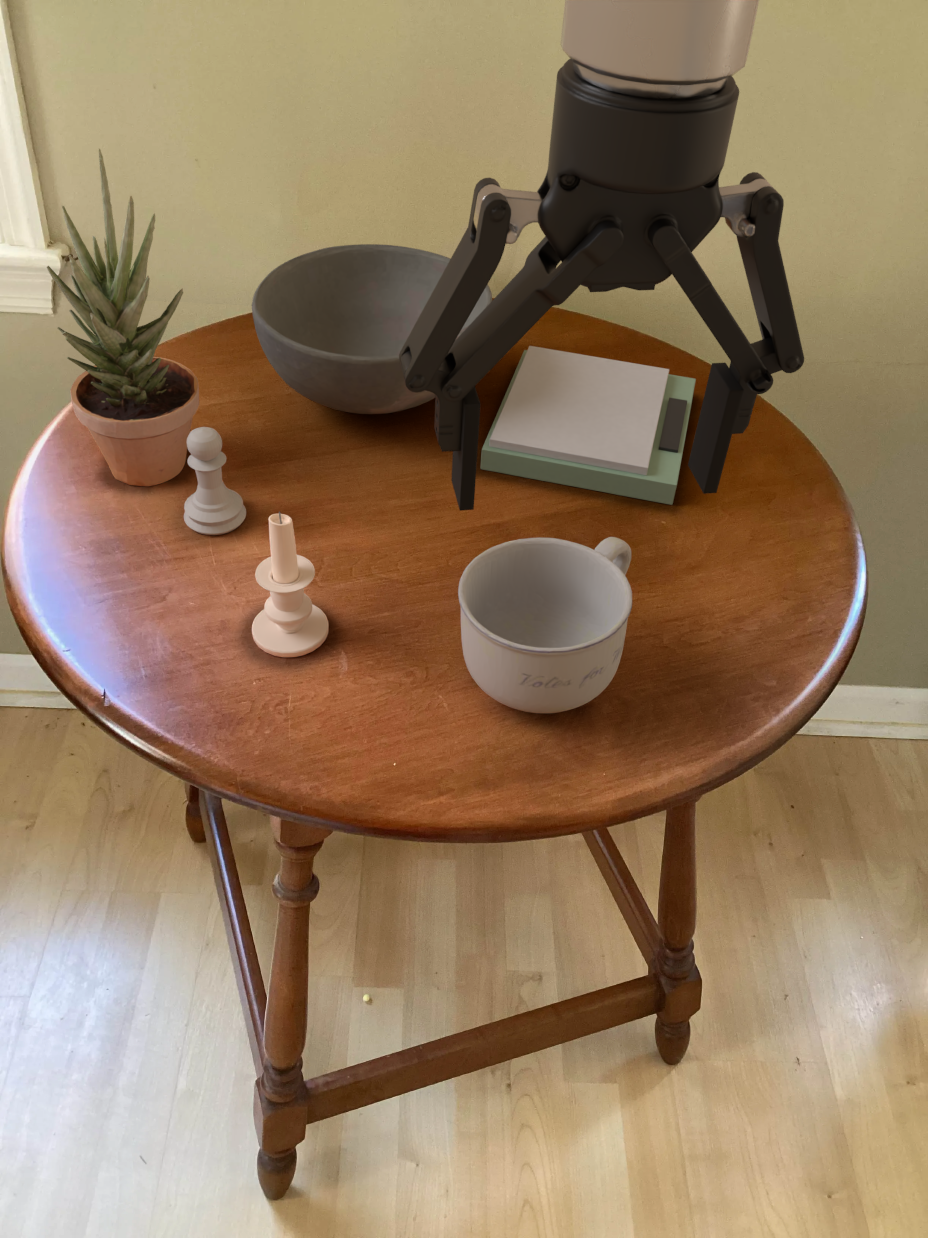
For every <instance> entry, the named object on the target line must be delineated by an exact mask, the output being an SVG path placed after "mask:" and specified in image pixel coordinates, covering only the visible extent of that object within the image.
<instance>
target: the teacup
mask: <svg viewBox="0 0 928 1238" xmlns="http://www.w3.org/2000/svg"><path fill="white" fill-rule="evenodd" d="M631 561H632V548H631V547H630V545H629V544H628V543H627V542H626V541H625V540H623V539H621V538H619V537H616V536H608V537H606V538H604V539H603V540H601V541H600V542H599V543H598V544H597V545H596V547H595V548H594V549H593V548H591V547H589V546H587V545H584V544H581V543H579V542H573V541H570V540H566V539H561V538H555V537H528V538H527V537H526V538H518V539H513V540H510V541H505V542H502V543H500V544H497V545H494V546H491V547H489V548H488V549H486V550H484V551H482V552H481V553H480V554H478V555H477V556H475V557H474V558H473V559H472V560H470V562H469V564H467V566H465V568H464V570H463V571H462V575H461V576H460V578H459V582H458V587H457V596H458V597H457V598H458V602H459V607H460V636H461V637H460V638H461V648H462V655H463V659H464V662H465V666H466V669H467V671H468V672H469V674H470V676H471V678H472V680H473V681H474V682H475V683H476V685H477V686H478V687H479V688H480V689H481V690H482V692H484V693H485V694H486V695H487V696H489V697H490V698H492V699H493V700H494V701H496V702H498V703H500V704H502V705H504V706H507V707H509V708H511V709H514V710H518V711H522V712H525V713H532V714H557V713H561V712H567V711H570V710H573V709H576V708H577V709H578V708H579V707H582V706H583V705H585V704H587V703H589V702H591V701H592V700H594V699H595V698H597V697H598V696H599V695H601V694H602V693H603V691H605V690H606V688H607V687H608V686H609V685H610V684H611V682H612V681H613V678H614V677H615V675H616V674H617V671H618V669H619V665H620V663H621V660H622V659H621V658H622V655H623V652H624V651H623V650H624V647H625V646H624V645H625V641H626V640H625V639H626V635H627V628H628V619H629V617H630V614H631V612H632V608H633V591H632V587H631V584H630V582H629V580H628V578H627V576H626V575H627V573H628V570H629V568H630V564H631Z"/></svg>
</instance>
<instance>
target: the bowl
mask: <svg viewBox="0 0 928 1238" xmlns="http://www.w3.org/2000/svg"><path fill="white" fill-rule="evenodd" d="M450 259H451V257H447V256H445V255H442V254H439V253H435V252H432V251H428V250H423V249H420V248H413V247H408V246H401V245H393V244H381V243H379V244H376V243H373V244H372V243H371V244H370V243H366V244H365V243H364V244H363V243H361V244H344V245H336V246H335V245H334V246H329V247H323V248H320V249H316V250H313V251H310V252H306V253H303V254H301V255H298V256H295V257H293V258H291V259H289V260H287V261H285V262H283V263H282V264H280V265H278V266H277V267H275V268H273V270H271V271H269V273H268V274H267V275H266V276H265V277H264V278H263V280H261V282H260V283H259V284H258V286H257V288H256V290H254V294H253V297H252V301H251V313H252V319H253V324H254V329H255V332H256V335H257V336H256V337H257V339H258V341H259V344H260V346H261V349H262V351H263V353H264V356H265V357H266V359H267V360H268V363H269V364H270V366H271V367H272V368H273V370H274V371H275V372H276V374H277V375H278V376H279V378H280V379H282V381H283V382H284V383H285V384H286V385H287V386H289V387H290V388H291V389H292V390H293V391H295V392H296V393H297V394H300V395H301V396H302V397H304V398H306V399H308V400H310V401H312V402H315V403H316V404H319V405H322V406H324V407H326V408H330V409H332V410H336V411H339V412H345V413H350V414H360V415H382V414H391V413H396V412H401V411H406V410H409V409H412V408H416V407H419V406H421V405H423V404H427V403H428V402H430V401H432V400H434V399H435V394H434V393H432V392H429V391H426V390H424V391H422V392H418V393H415V392H412V391H410V390H408V388H407V387H406V384H405V380H404V376H403V372H402V368H401V364H400V360H399V354H400V351H401V349H402V347H403V346H404V344H405V342H406V340H407V338H408V336H409V335H410V333H411V331H412V329H413V327H414V325H415V324H416V322H417V320H418V318H419V316H420V314H421V312H422V311H423V309H424V307H425V305H426V303H427V301H428V300H429V298H430V296H431V294H432V292H433V290H434V289H435V287H436V285H437V283H438V281H439V279H440V278H441V276H442V274H443V272H444V270H445V268H446V267H447V265H448V263H449V261H450ZM492 300H493V294H492V290H491V288H490V286H489V283H488V284H487V286H486V288H485V289H484V291H483V293H482V295H481V296H480V298H479V300H478V302H477V303H476V305H475V307H474V309H473V310H472V312H471V314H470V315H469V317H468V319H467V321H466V322H465V324H464V326H463V328H462V329H461V331H460V333H459V335H458V336H457V338H458V337H459V336H460V335H461V334H462V333H463V332H464V331H465V329H466V328H467V327H468V326H469V325H470V324H471V323H472V322H473V321H474V320H475V319H476V318H477V317H478V315H479V314H480V313H481V312H482V311H483V310H484V309H485V308H486V307H487V306H488V305H489V304H490V303H491V302H492ZM457 338H456V339H457Z"/></svg>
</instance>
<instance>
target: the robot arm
mask: <svg viewBox="0 0 928 1238" xmlns="http://www.w3.org/2000/svg"><path fill="white" fill-rule="evenodd" d="M759 4H760V0H564V6H563V7H564V8H563V17H562V26H561V35H560V44H559V45H560V47H561V50H562V51H563V52H564V53H565V55H566V56H567V57H568V58H569V59H568V60H567V61H565V62H564V64H563V65H562V66H561V67H560V68H559V69H558V71H557V73H556V81H555V90H554V91H555V92H554V99H553V100H554V101H553V113H552V121H551V130H550V132H551V133H550V141H549V151H548V161H547V163H548V164H547V171H546V173H545V176H544V179H543V181H542V183H541V184H540V186H539V187H538V188H537V190H536V191H531V190H519V189H511V188H502V187H501V185H500V183H499V182H498V180H496V179H495V178H492V177H484V178H482V179H480V180H479V181H478V182H477V183H476V184H475V186H474V189H473V195H472V199H471V205H470V206H471V208H470V213H469V219H468V226H467V228H466V230H465V232H464V234H463V236H462V237H461V239H460V241H459V243H458V244H457V246H456V249H455V250H454V252H453V254H452V256H451V257H450V261H449V263H448V265H447V267H446V268H445V270H444V272H443V274H442V276H441V278H440V279H439V281H438V283H437V285H436V287H435V289H434V290H433V292H432V294H431V296H430V298H429V300H428V301H427V303H426V305H425V307H424V309H423V311H422V312H421V314H420V316H419V318H418V320H417V322H416V324H415V325H414V327H413V329H412V331H411V333H410V335H409V336H408V338H407V340H406V342H405V344H404V346H403V347H402V349H401V351H400V354H399V360H400V364H401V368H402V372H403V376H404V380H405V384H406V387H407V388H408V390H410V391H412V392H415V393H418V392H422V391H424V390H426V391H429V392H432V393H434V394H435V398H434V399H435V400H434V401H435V402H434V424H433V425H434V427H433V429H434V432H435V436H436V441H437V444H438V446H439V448H440V450H441V452H442V453H446V452H452V458H451V459H452V461H451V462H452V463H451V483H452V488H453V492H454V495H455V498H456V502H457V505H458V509H459V511H460V512H461V511H473V510H474V509H475V498H476V497H475V493H476V482H477V481H476V480H477V465H478V451H479V434H480V421H481V408H482V407H481V405H482V403H481V400H480V397H479V394H478V392H477V388H476V386H477V385H478V384H479V383H480V382H481V381H482V380H483V378H484V377H485V376H487V375H488V373H489V372H491V370H492V369H493V368H494V367H495V366H496V365H497V364H498V363H499V362H500V361H501V360H502V359H503V358H504V357H505V356H506V355H507V354H508V353H509V352H510V351H511V349H513V348H514V347H515V346H516V345H517V343H519V341H520V340H521V339H522V338H523V337H524V336H525V335H526V334H527V333H528V332H529V331H531V329H532V328H533V327H534V326H535V325H536V324H537V323H538V322H539V320H540V319H542V317H544V315H545V314H546V313H548V311H549V310H551V308H552V307H554V306H560V305H562V304H563V303H565V302H566V301H567V299H568V298H570V297H571V296H572V294H574V293H575V291H576V290H578V288H579V287H580V286H582V287H584V288H587V289H588V291H589V293H607V292H610V291H614V290H616V289H620V288H625V289H630V290H635V291H655V288H656V286H657V285H660V284H661V283H663V282H664V281H666V280H667V279H668V278H670V277H671V276H673V278H674V279H675V281H676V282H677V284H678V286H679V287H680V288H681V290H682V292H683V293H684V294H685V296H686V297H687V299H688V300H689V302H690V303H691V304H692V306H693V307H694V309H695V310H696V312H697V313H698V315H699V317H700V318H701V319H702V321H703V322H704V324H705V325H706V327H707V328H708V329H709V331H710V332H711V334H712V336H713V337H714V338H715V340H716V342H717V343H718V345H719V346H720V347H721V349H722V351H723V352H724V353H725V356H727V358H728V359H729V361H730V362H729V365H728V364H727V363H726V362H712V363H711V365H710V369H709V374H708V378H707V383H706V386H705V391H704V395H703V400H702V403H701V408H700V412H699V416H698V421H697V425H696V429H695V433H694V438H693V442H692V445H691V451H690V454H689V459H688V462H687V467H688V468H689V470H690V472H691V473H692V476H693V477H694V479H695V481H696V483H697V484H698V486H699V488H700V490H701V492H702V494H704V495H705V494H707V495H709V494H717V492H718V488H719V485H720V481H721V477H722V475H723V474H722V473H723V470H724V466H725V463H726V459H727V455H728V451H729V448H730V443H731V440H732V437H733V435H739V434H741V435H742V434H744V432H746V430H747V429H748V427H749V424H750V421H751V417H752V414H753V411H754V410H753V409H754V407H755V403H756V399H757V396H758V395H762V394H765V393H767V392H768V391H769V390H771V388H772V386H773V385H774V377H773V374H776V373H778V372H781V371H782V372H783V373H785V374H793V373H796V372H798V371H799V370H800V369H801V368H802V367H803V365H804V363H805V355H804V351H803V345H802V342H801V337H800V333H799V328H798V323H797V318H796V314H795V310H794V306H793V301H792V297H791V292H790V286H789V283H788V279H787V273H786V270H785V265H784V260H783V256H782V252H781V247H780V242H779V240H780V239H779V238H780V232H781V227H782V226H781V225H782V219H783V211H784V205H785V204H784V203H785V202H784V197H783V196H782V195H781V193H780V192H778V191H777V190H776V188H774V186H773V185H771V183H770V182H769V181H768V180H767V179H766V178H765V177H764V176H763V175H762V174H761V173H759V172H758V171H757V172H756V171H755V172H754V171H752V172H750V173H747V174H746V175H744V176H743V177H742V178H741V180H740V182H739V184H733V185H726V186H720V184H719V180H720V176H721V173H722V170H723V168H724V167H725V163H726V158H727V154H728V148H729V144H730V139H731V133H732V129H733V125H734V120H735V115H736V110H737V106H738V100H739V97H740V88H739V86H738V85H737V84H736V83H737V82H736V80H735V78H734V77H733V76H734V75H735V74H737V73H738V72H740V71H741V70H743V69H744V68H745V67H746V64H747V61H748V57H749V51H750V46H751V42H752V37H753V32H754V28H755V22H756V18H757V12H758V7H759ZM721 218H724V221H725V224H726V225H727V227H728V228H729V230H730V231H731V232H732V233H733V234H734V235H735V236H736V240H737V244H738V245H737V246H738V248H739V253H740V256H741V260H742V264H743V268H744V272H745V276H746V280H747V285H748V288H749V292H750V295H751V299H752V304H753V308H754V311H755V315H756V319H757V323H758V327H759V331H760V335H761V339H760V340H757V341H754V342H752V343H750V340H749V339H748V337H747V336H746V335H745V333H744V331H743V330H742V328H741V326H740V325H739V324H738V322H737V320H736V319H735V318H734V316H733V314H732V313H731V311H730V309H728V307H727V305H726V304H725V302H724V301H723V299H722V298H721V296H720V294H719V293H718V291H717V289H716V288H715V286H714V285H713V283H712V281H711V280H710V278H709V277H708V276H707V274H706V272H705V271H704V269H703V268H702V266H701V265H700V262H699V261H698V260H697V258H696V257H695V255H694V254H693V251H694V250H695V249H697V247H698V246H699V245H700V244H701V243H702V241H704V240H705V238H706V237H708V235H709V234H710V233H711V232H712V231H713V229H715V227H716V226H717V225H718V223H719V221H721V220H720V219H721ZM535 223H538V225H539V228H540V230H541V232H542V233H543V235H544V237H543V238H542V239H541V240H540V242H539V243H538V244H537V245H536V246H535V247H534V248H533V249H532V250H531V251H530V253H529V254H528V255H527V257H526V259H525V261H524V262H525V263H524V265H523V266H522V268H521V269H520V270H519V271H518V272H517V273H516V275H514V277H513V278H511V280H509V282H508V283H507V284H506V285H505V287H504V288H502V289H501V291H500V292H499V293H498V294H496V296H495V297H494V298H492V302H491V303H490V304H489V305H488V306H487V307H486V308H485V309H484V310H483V311H482V312H481V313H480V314H479V315H478V317H477V318H476V319H475V320H474V321H473V322H472V323H471V324H470V325H469V326H468V327H467V328H466V329H465V331H464V332H463V333H462V334H461V335H460V336H459V337H458V338H457V336H458V335H459V333H460V331H461V329H462V328H463V326H464V324H465V322H466V321H467V319H468V317H469V315H470V314H471V312H472V310H473V309H474V307H475V305H476V303H477V302H478V300H479V298H480V296H481V295H482V293H483V291H484V289H485V288H486V286H487V284H488V285H489V283H490V281H491V279H492V277H493V275H495V272H496V270H497V269H498V266H499V264H500V262H501V260H502V257H503V255H504V252H505V249H506V245H507V244H509V245H513V244H514V243H516V242H517V241H518V239H519V237H520V235H521V233H522V231H523V230H524V229H525V228H526V226H529V224H535ZM456 338H457V339H456Z"/></svg>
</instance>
